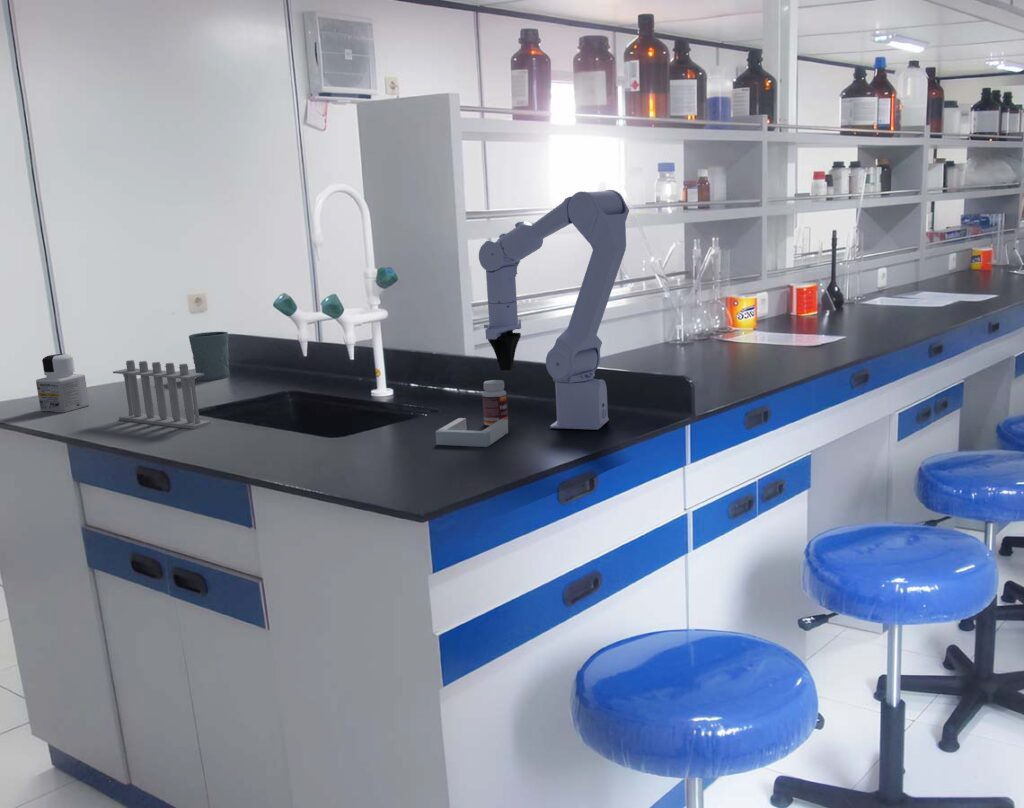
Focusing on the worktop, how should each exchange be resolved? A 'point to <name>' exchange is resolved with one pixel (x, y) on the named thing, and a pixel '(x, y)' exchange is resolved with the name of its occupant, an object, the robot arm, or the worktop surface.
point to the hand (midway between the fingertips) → (506, 369)
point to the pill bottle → (494, 402)
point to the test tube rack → (161, 395)
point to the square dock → (470, 434)
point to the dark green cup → (210, 355)
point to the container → (61, 385)
